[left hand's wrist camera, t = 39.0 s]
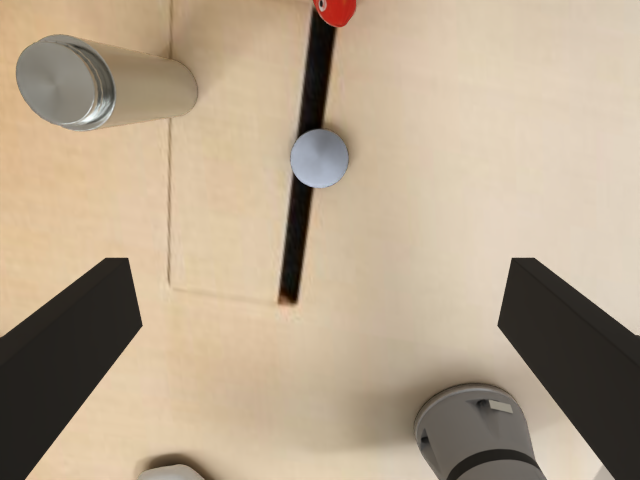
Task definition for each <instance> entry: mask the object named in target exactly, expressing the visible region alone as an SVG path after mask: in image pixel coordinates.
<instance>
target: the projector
mask: <svg viewBox="0 0 640 480" xmlns="http://www.w3.org/2000/svg"><path fill="white" fill-rule="evenodd" d="M137 480H205V479H204V478H203V477H201V476H200V475H199V474H198V473H197V472H196V471H194V470H193V469H192V468H190V467H189V466H186V465H182V464H177V465H173V466H164V467H159V468H154V469H150V470H146V471H143V472H142V473H141V474H140V475H139V477H138V479H137Z"/></svg>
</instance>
